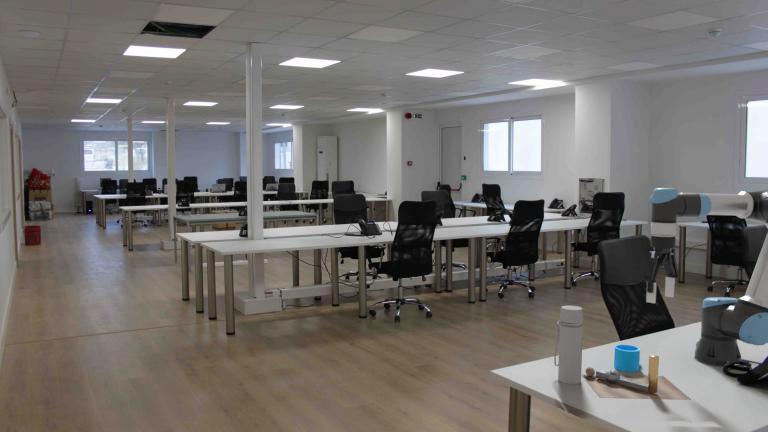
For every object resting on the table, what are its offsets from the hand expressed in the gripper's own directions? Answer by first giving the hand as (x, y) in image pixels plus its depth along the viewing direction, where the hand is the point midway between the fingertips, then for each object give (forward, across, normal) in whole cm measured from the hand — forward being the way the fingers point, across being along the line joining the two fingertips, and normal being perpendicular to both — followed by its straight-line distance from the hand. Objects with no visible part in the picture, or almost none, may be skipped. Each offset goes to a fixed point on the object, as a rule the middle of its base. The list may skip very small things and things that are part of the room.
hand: (660, 299), depth 210 cm
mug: (+27, -2, -11) cm, 29 cm away
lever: (+25, +18, -2) cm, 31 cm away
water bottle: (+27, +26, -18) cm, 42 cm away
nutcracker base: (+27, +16, 0) cm, 31 cm away
